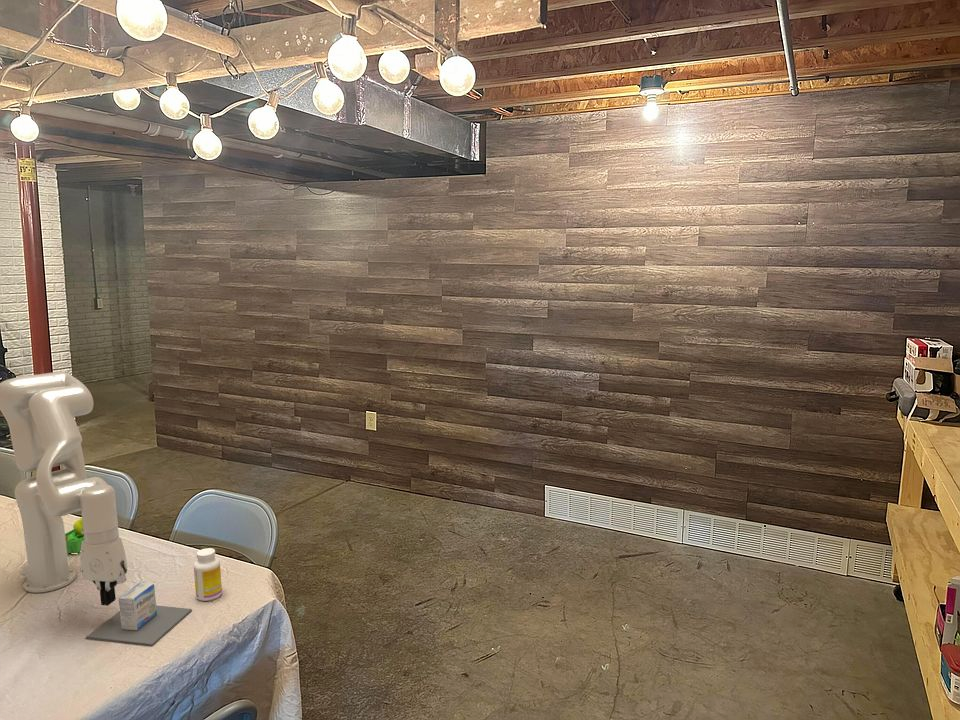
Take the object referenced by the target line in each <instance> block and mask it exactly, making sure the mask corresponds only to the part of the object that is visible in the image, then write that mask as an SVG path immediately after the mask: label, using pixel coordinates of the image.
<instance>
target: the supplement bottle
mask: <svg viewBox="0 0 960 720" xmlns="http://www.w3.org/2000/svg"><path fill="white" fill-rule="evenodd" d="M196 558H197V560H196V561H195V562H194V564H193V573H194V576H193V577H194V585H195V586H194V587H195V596H196V599H198V601H201V602H207V601H213V600H216V599H217V598H219V597H220V596H221V595H222V594H223V587H222V586H223V585H222V573H221V563H220V560H219V558H218V557H216V550H215V549H214V548H211V547H209V548H202V549H199V550H198V551H197V552H196Z"/></svg>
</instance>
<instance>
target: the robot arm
mask: <svg viewBox="0 0 960 720" xmlns="http://www.w3.org/2000/svg"><path fill="white" fill-rule="evenodd" d="M93 409H94V399H93V396H92V393H91V391H90V390H89V389H88V388H87V386H86V385H85V384H84V383H83V382H81V381H80V380H78V378H76V377H74V376H73V375H72V374H70V373H68V372H66V371H55V372H54V371H53V372H47V373H40V374H31V375H25V376H17V377H13V378H9V379H5V380H3V381H1V382H0V412H1V413H2V415H3V417H4V418H5V420H6V423H7V424H8V428H9V434H10V440H11V444H12V450H13V455H14V460H15V463H16V466H17V468H18V469H19V470H20V471H22V472H25V473H31V472H36V475H33V476H30V477H28V478H26V479H23V480H21V481H19V482H18V484H17V485H16V486H15V488H14V497H15V501H16V503H17V507H18V509H19V513H20V517H21V522H22V530H23V537H24V544H25V552H26V561H27V564H24V565H23V566H22V568H21V570H20V571H19V573H18V574H19V576H26V577H25V578H26V580H25V581H24V583H23V590H24V591H26V592H28V593H39V594H40V593H48V592H51V591H54V590H58V589H61V588H64V587H66V586H68V585H69V584H71V583H72V582H74V581H75V580H76V578H77V573H76V570H74V569H72V568H69V567H70V566H69V557H68V554H67V548H66V539H65V534H66V531H65V523H64V519H63V518H62V517H64V516H68V515H71V514H75V513H78V512H80V513H81V518H82V523H83V529H82V531H81V533H82V534H84V540H83V541H82V545H81V552H80V553H79V555H80V558H79V560H80V562H79V563H80V576H81V578H82V579H83V580H87V581H89V582H92V583H93V584H94V585H95V587H96V589H97V591H99V595H100V605H101V606H106V607H107V606H110V605H111V604H112V603H114V602H115V601H116V596H117V595H116V587H117V585H120V584H123V583H125V582H126V581H127V580H128V579H127V577H126V574H127V573H128V562H127V554H126V552H125V551H126V549H125V547H124V543H123V540H122V538H121V537H120V534H119V533H120V531H119V521H118V513H117V502H116V492H115V489H114V487H113V486H112V485H109V484H108V483H107V482H106V480H104V479H103V478H101V477H99V476H91V477H89V478H88V476H87V475H88V474H87V470H86V464H85V458H84V452H83V448H82V442H83V437H82V434H81V432H80V430H79V427H78V424H77V422H76V420H75V417H79V416H80V417H81V416H85V415H88V414H90V413H91V412H92V411H93ZM59 466H61V467H62V469H58V470H55V471H52V469H53V468H55V467H59Z"/></svg>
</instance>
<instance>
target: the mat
mask: <svg viewBox="0 0 960 720" xmlns="http://www.w3.org/2000/svg"><path fill="white" fill-rule="evenodd" d="M156 608H157V614H156V615H155V616H154V617H153V618H152V619H151V620H149V621H148V622H147V623H146V624H145V625H144V626H142V627H141V628H140V629H139V630H138V631H136V630H125V629H122V626H121V617H120V610H119V611H118V612H116V613H115V614H114V615H112V616H111V617H109V619H107V620H106V621H105V622H103V623H101V624H100V625H99V626H98V627H96V628H95V629H93V630H92V631H91V632H90V633H88V634H87V635H85V640H93V641H101V642H110V643H119V644H126V645H136V646H139V645H140V646H147V647H154V645H156V644H157V643H158V642H159V641H160V640H161V639H162V638H163V637H164V636H166V635H167V634H168V633H169V632H170V631H171V630H172V629H173V628H175V627H176V626H177V625H178V624H179V623H180V622H182V621H183V619H185V618H186V617H187V616H188V615H189V614H191V612H192V611H193V608H187V607H176V606H166V605H157V604H156Z"/></svg>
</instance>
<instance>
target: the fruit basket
mask: <svg viewBox="0 0 960 720" xmlns="http://www.w3.org/2000/svg"><path fill="white" fill-rule="evenodd" d="M72 527H73V529H72V530H69V531H68V532H65V539H66V548H67V553H78V552H80V551H81V545H82V541H83V540H84V534H82V533H81V531H82V529H83V523H82V517H81V518H79V519H78V520H76V521H75V522H74V524H73V525H72ZM78 554H79V553H78Z"/></svg>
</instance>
